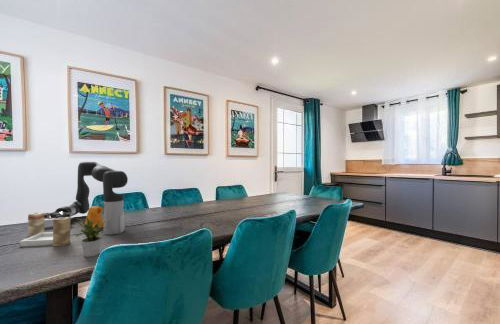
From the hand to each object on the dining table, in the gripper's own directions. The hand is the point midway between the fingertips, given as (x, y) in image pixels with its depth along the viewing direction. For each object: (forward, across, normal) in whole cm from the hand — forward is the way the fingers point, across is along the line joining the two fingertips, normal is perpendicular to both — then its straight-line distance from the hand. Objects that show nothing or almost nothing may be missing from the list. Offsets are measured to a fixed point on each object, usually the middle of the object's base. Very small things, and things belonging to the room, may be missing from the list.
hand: (47, 218), depth 129 cm
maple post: (+8, 0, +6) cm, 11 cm away
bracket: (-4, +24, +7) cm, 25 cm away
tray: (+20, +12, +6) cm, 24 cm away
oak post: (+26, +22, +7) cm, 35 cm away
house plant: (+41, +40, +7) cm, 58 cm away
